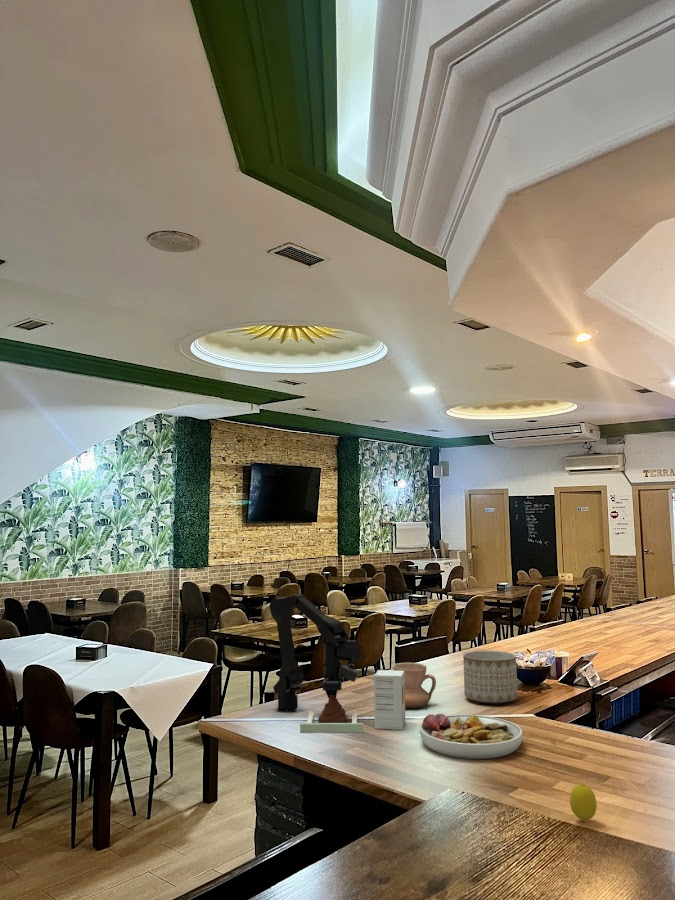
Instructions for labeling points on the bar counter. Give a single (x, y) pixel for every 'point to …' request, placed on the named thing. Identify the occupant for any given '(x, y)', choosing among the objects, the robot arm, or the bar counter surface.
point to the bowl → (470, 736)
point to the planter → (490, 676)
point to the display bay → (330, 726)
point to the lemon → (583, 802)
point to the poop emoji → (333, 712)
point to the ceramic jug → (415, 684)
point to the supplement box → (389, 699)
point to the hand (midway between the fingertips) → (333, 705)
